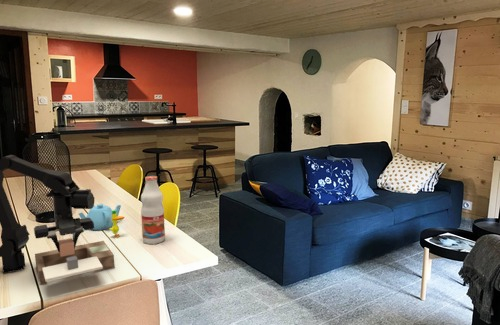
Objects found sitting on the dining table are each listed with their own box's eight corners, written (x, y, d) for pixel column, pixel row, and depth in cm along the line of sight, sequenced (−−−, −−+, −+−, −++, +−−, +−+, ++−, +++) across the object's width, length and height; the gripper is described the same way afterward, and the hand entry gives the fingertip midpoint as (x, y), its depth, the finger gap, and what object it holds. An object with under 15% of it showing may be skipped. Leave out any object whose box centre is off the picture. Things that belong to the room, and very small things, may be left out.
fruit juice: (162, 235, 174) (160, 173, 169) (167, 242, 166) (164, 178, 161) (140, 238, 170) (137, 175, 165) (144, 245, 162) (141, 180, 157)
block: (60, 256, 137) (59, 244, 136) (59, 252, 140) (58, 240, 140) (74, 253, 139) (73, 242, 138) (72, 249, 143) (71, 238, 142)
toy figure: (124, 233, 176) (123, 208, 173) (126, 236, 172) (124, 210, 170) (108, 236, 172) (107, 210, 170) (110, 238, 169) (108, 212, 167)
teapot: (77, 231, 178) (75, 208, 176) (92, 220, 193) (90, 199, 191) (110, 232, 178) (108, 209, 176) (122, 221, 192) (121, 200, 190)
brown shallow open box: (40, 285, 129) (38, 270, 128) (36, 266, 142) (34, 253, 142) (114, 267, 142) (113, 254, 141) (104, 252, 155) (103, 240, 154)
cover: (45, 281, 120) (44, 270, 120) (42, 270, 128) (41, 259, 128) (102, 268, 130) (102, 257, 129) (96, 258, 137) (95, 248, 137)
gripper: (34, 219, 125) (39, 264, 128) (95, 210, 135) (98, 252, 138) (31, 210, 134) (36, 253, 137) (89, 202, 144) (92, 242, 147)
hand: (66, 250), depth 140 cm, fingers closed on block, 4 cm apart
